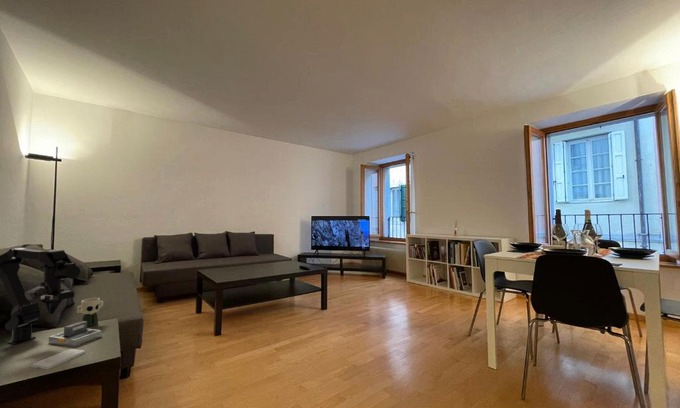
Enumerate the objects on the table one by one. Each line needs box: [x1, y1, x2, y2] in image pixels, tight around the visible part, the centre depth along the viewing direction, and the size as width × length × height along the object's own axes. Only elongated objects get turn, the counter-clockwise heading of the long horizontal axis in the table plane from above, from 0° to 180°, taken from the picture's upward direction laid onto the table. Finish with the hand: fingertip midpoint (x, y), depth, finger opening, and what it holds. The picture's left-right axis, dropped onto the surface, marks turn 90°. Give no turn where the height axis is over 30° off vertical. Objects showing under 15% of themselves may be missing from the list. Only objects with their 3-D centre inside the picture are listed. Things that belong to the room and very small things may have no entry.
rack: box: [48, 328, 102, 348], centre depth 124 cm, size 15×11×3 cm
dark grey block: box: [63, 320, 88, 338], centre depth 125 cm, size 3×7×6 cm, turn 166°
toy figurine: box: [76, 297, 104, 328], centre depth 141 cm, size 11×7×13 cm, turn 156°
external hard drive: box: [30, 348, 86, 370], centre depth 107 cm, size 2×8×12 cm
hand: (51, 314), depth 123 cm, fingers closed
